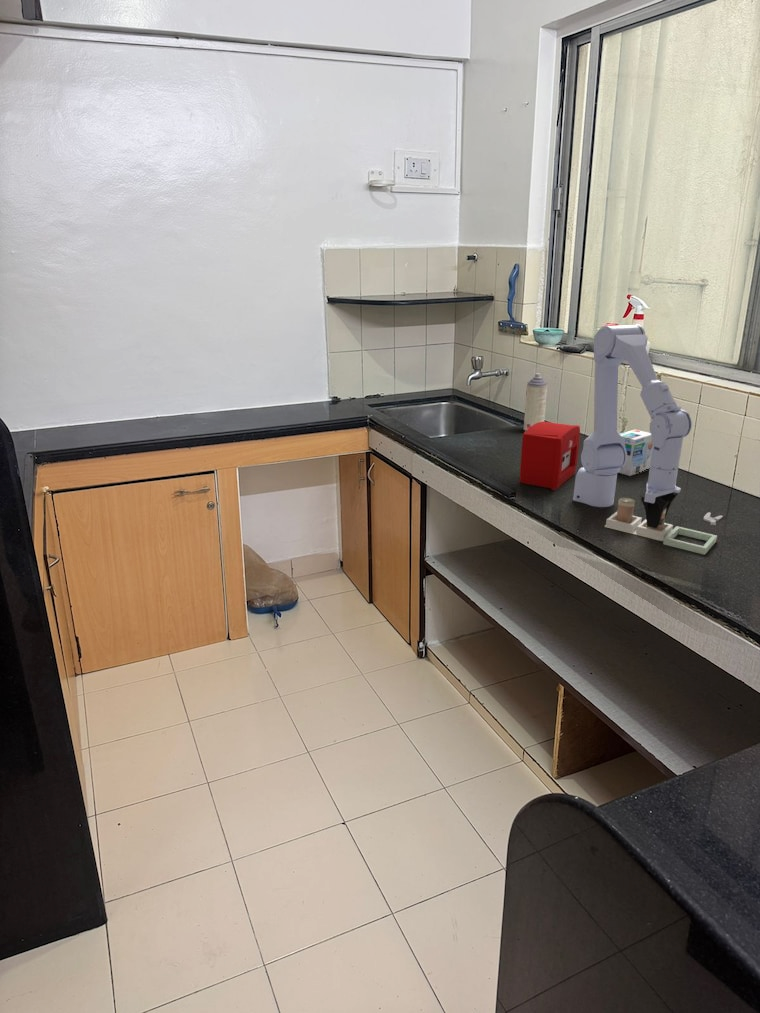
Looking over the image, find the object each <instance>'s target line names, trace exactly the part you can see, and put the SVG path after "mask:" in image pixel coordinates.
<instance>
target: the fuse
mask: <svg viewBox="0 0 760 1013" xmlns="http://www.w3.org/2000/svg"><path fill="white" fill-rule="evenodd" d="M635 502H636V500H635V499H633V498H629V497H620V498H618V503H617V510H616V512H617V518H616V520H617V521H621V522H625V523H629V524H631V523H632V517H633V516H634V509H635Z"/></svg>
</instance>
